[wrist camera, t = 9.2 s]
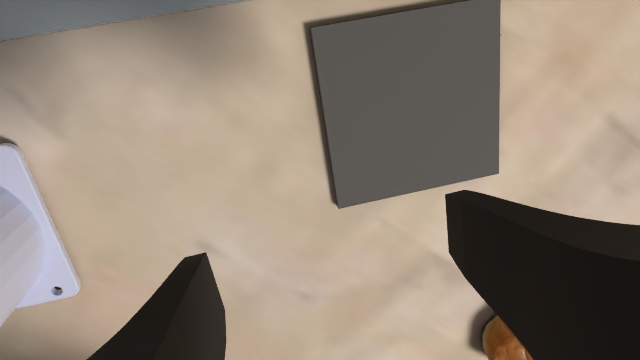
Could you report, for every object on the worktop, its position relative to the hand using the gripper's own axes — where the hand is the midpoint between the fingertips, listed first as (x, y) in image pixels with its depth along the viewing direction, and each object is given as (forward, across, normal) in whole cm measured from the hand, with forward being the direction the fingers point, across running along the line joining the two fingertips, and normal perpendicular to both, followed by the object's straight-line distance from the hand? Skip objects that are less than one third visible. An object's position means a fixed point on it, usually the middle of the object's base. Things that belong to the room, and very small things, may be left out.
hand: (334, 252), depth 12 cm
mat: (+9, -6, -1) cm, 11 cm away
